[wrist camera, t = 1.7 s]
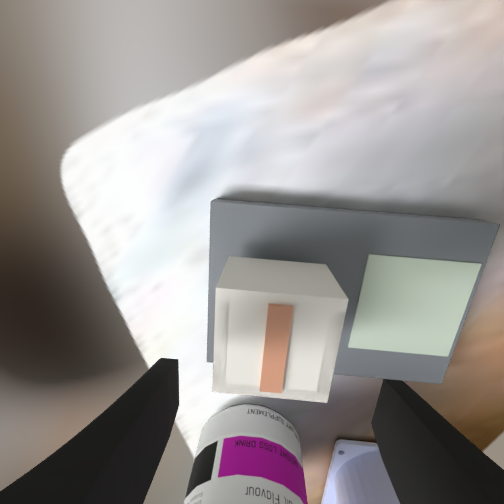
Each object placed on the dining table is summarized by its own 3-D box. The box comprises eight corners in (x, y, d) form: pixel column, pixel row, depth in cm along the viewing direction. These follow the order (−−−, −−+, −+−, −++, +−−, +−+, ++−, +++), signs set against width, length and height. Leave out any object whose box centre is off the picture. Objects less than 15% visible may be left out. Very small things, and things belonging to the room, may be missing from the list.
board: (428, 368, 19) (442, 385, 18) (211, 347, 19) (206, 363, 18) (478, 219, 16) (501, 225, 14) (215, 198, 16) (210, 201, 15)
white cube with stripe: (312, 346, 16) (328, 406, 12) (225, 338, 16) (211, 395, 12) (325, 264, 14) (349, 301, 10) (229, 256, 15) (214, 289, 10)
